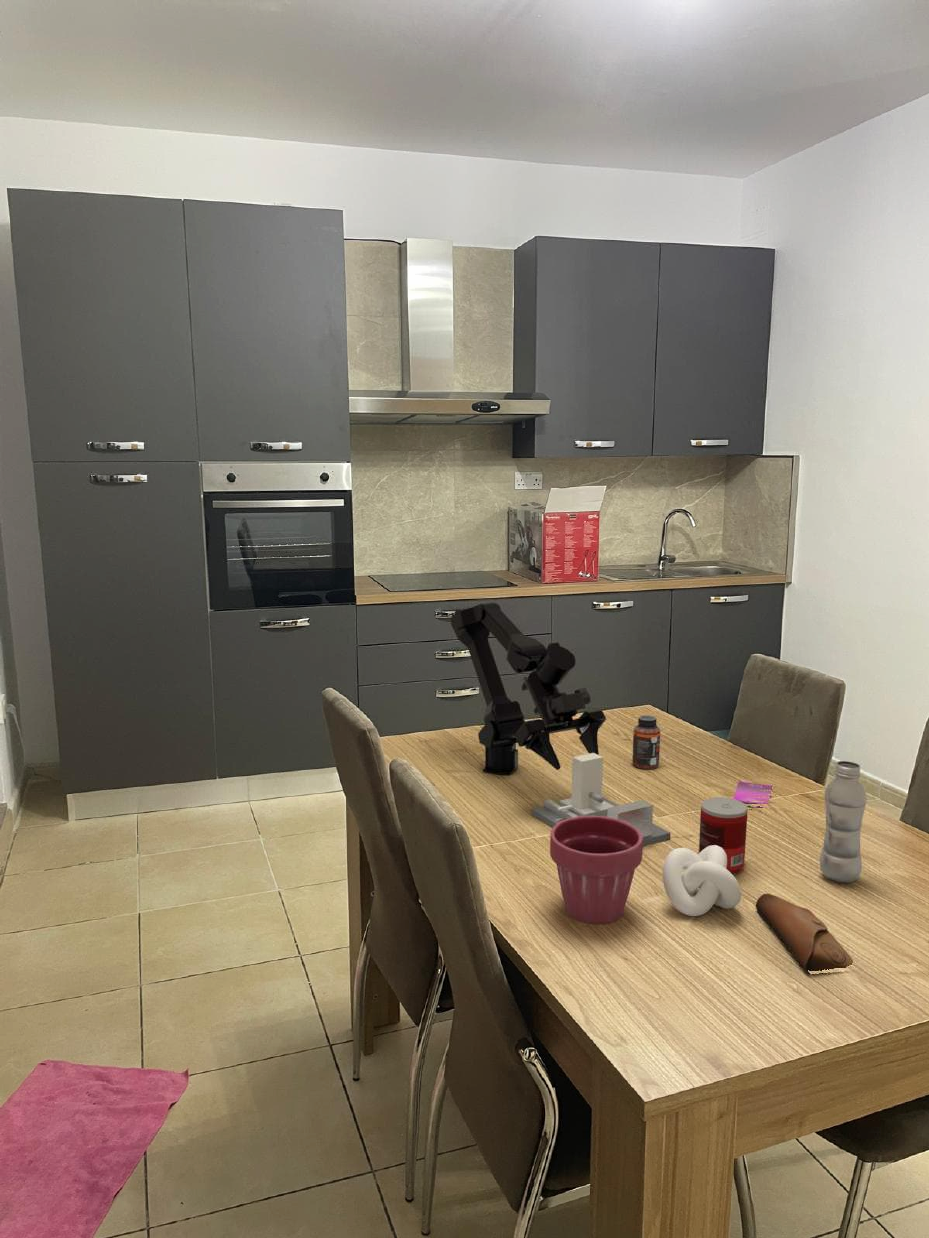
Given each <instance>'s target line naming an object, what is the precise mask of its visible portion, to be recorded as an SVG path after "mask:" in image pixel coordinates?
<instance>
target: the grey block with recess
mask: <svg viewBox="0 0 929 1238" xmlns="http://www.w3.org/2000/svg"><path fill="white" fill-rule="evenodd" d="M617 805H618V806H614V807H610V808H608V811H607V817H610V818H614V819H618V820H621V821H624V822H627V823H629V824H631V825H633V826H634V827H636V828H637V829H638V830H639V831H640V832H641V834H642V837H643V838H647V837H651V836H652V823H653V818H654V817H653V815H654V813H653V812H654V805H653V804H652V803H650V802H648V801H646V800H644V799H639V800H635V801H632V802H627V803H623V804H617Z"/></svg>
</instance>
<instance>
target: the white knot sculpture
mask: <svg viewBox="0 0 929 1238" xmlns="http://www.w3.org/2000/svg"><path fill="white" fill-rule="evenodd" d="M662 865H663V866H662V883H663V888H664V891H665V894H666V896H667V898H668V900H669V902H670V903H671V905H672V906H673V907H674V908H675V909H676V910H678V912H680V913H681V914H684V915H686V916H688V917H698V916H699V917H700V916H702V915H704V914H706V913H707V912H709V910H711V908H712V907H713V906H714V905H715V906H718V907H719V906H720V907H719V908H722V909H733V908H735V907H737V906H738V905H739V904H740V902H741V899H742V891H741V886H740V884H739V882H738V881H737V879H736V877H735V876H734V874H731V873H730V872H729V871H728V870H727V869H726V867H727V855H726V853H725V851H724V850H723V849H722V848H721V847H719V846H717V845H712V846H708V847H706V848H705V849H703V850H702V851H701V852H700V853H699V852H698V853H696V852H695V851H693V850H691V849H690V848H688V847H677V848H675V849H672V850H671V851H670V852H668V855H667V856H666V858H665V859H664V862H663V864H662ZM683 869H684V871H683Z"/></svg>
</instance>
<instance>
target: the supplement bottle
mask: <svg viewBox="0 0 929 1238" xmlns="http://www.w3.org/2000/svg"><path fill="white" fill-rule="evenodd" d="M632 735H633V736H632V737H633V739H632V765H633V766H634V767H635V768H639V769H641V770H642V769H643V770H653V769H656V768H658V767H659V765H660V751H661V750H660V748H661V747H660V746H661V728H659V726H658V725H657V718H656V716H653V715H640V716H638V721H637V724H636V725H635V726H634V728H633V734H632Z"/></svg>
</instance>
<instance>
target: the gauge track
mask: <svg viewBox="0 0 929 1238" xmlns="http://www.w3.org/2000/svg"><path fill="white" fill-rule="evenodd" d="M602 797H603V798H604V801H603V802H605V803H606V804H608V805H610V806H612V807H614V806H618V805H619V804H617V803H615V802H613V801H612V800H609V799H607V798H606V797H604V796H602ZM543 803H544V805H543V806H539V807H535V808H532V809H531V815H532V816H534V817H535V818H537V819H538V820H540V821H541V822H543V823H545V824H546V825H548V826H550V827H551V828H553V827H554V826H555V825H556V824H557V823H559V822H561V821H563V820H566V819H569V818H573V817H579V816H577V815H576V814H574V813H572V812H570V811H569V810H567V809H566V810H562V811H559V810H558V808H560V807H562V806H560V802H555V801H553V800H551V799H549V798H548V799H544V801H543ZM667 839H668V840H671V832H670V831H668V830H666V829H664V828H662V827H661V826H658V825H656V824H655V823H653V822H652V836H651V837H647V838H643V847H644V846H645V845H646V846H650V845H653V844H657V843H660V842H664V841H668V840H667ZM656 842H657V843H656Z"/></svg>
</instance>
